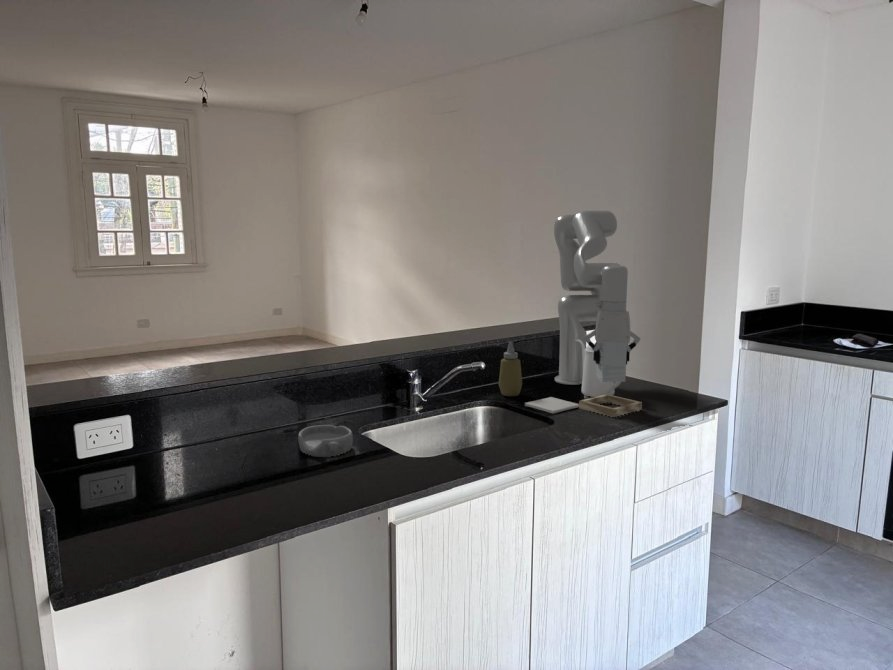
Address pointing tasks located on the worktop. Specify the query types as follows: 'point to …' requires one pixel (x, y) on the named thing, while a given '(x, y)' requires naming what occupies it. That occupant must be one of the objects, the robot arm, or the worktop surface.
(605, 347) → the supplement box
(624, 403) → the wooden frame
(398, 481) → the worktop surface
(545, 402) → the tile
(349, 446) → the dish
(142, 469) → the worktop surface
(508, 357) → the squeeze bottle
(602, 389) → the coffeepot
